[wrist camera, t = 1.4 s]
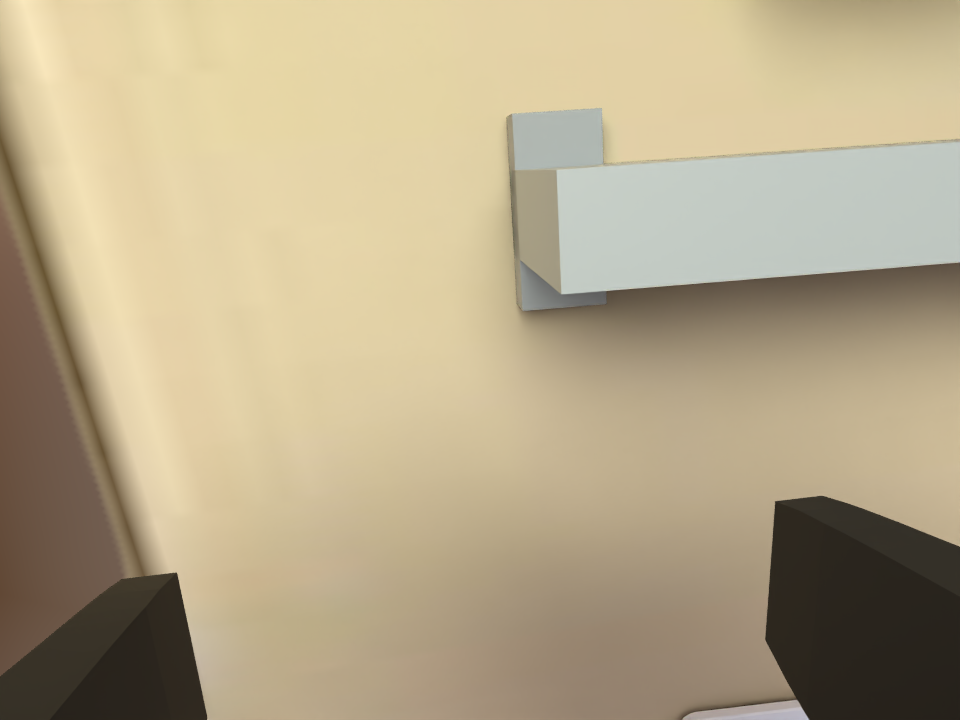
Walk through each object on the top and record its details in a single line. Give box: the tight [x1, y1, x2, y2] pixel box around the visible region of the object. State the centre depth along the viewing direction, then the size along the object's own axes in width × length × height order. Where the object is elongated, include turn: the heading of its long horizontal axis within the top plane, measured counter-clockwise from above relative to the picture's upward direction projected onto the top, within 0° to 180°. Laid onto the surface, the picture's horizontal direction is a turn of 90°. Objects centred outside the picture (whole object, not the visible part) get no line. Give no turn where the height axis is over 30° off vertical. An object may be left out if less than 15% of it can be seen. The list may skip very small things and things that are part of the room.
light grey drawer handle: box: [507, 108, 960, 311], centre depth 16 cm, size 4×16×6 cm, turn 94°
